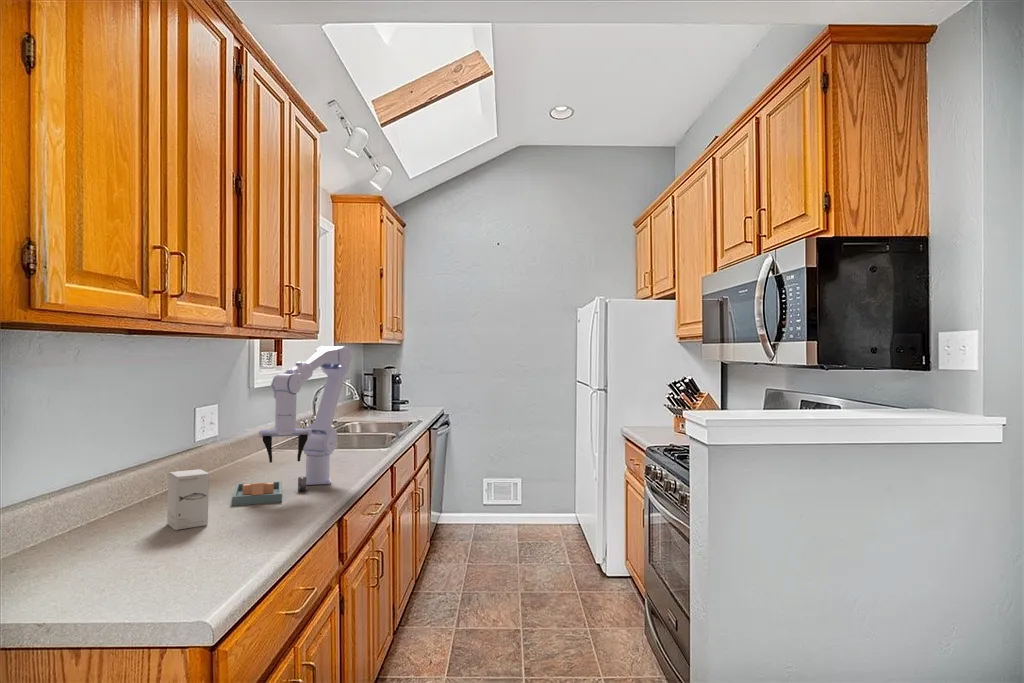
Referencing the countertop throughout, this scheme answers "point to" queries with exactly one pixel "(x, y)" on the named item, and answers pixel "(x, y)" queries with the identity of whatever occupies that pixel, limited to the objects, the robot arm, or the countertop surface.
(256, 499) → the tray
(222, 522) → the countertop surface
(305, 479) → the grey metal cylinder
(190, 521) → the supplement box
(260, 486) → the collar
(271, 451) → the robot arm
